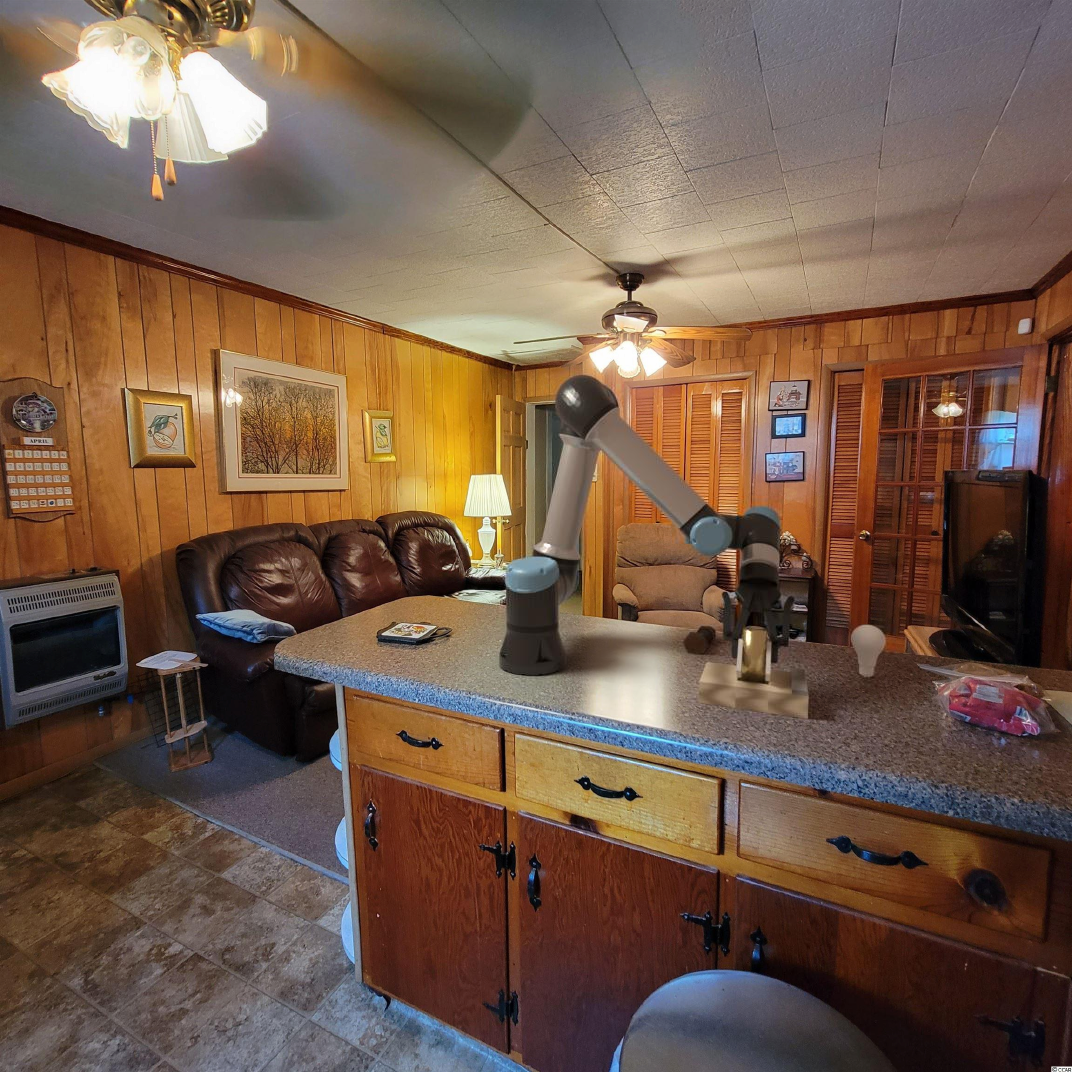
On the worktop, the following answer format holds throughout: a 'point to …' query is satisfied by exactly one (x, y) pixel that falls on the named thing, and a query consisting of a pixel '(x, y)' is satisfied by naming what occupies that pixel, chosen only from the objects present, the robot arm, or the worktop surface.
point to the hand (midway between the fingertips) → (753, 675)
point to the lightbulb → (867, 647)
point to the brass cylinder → (754, 654)
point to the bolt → (699, 640)
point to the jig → (755, 691)
